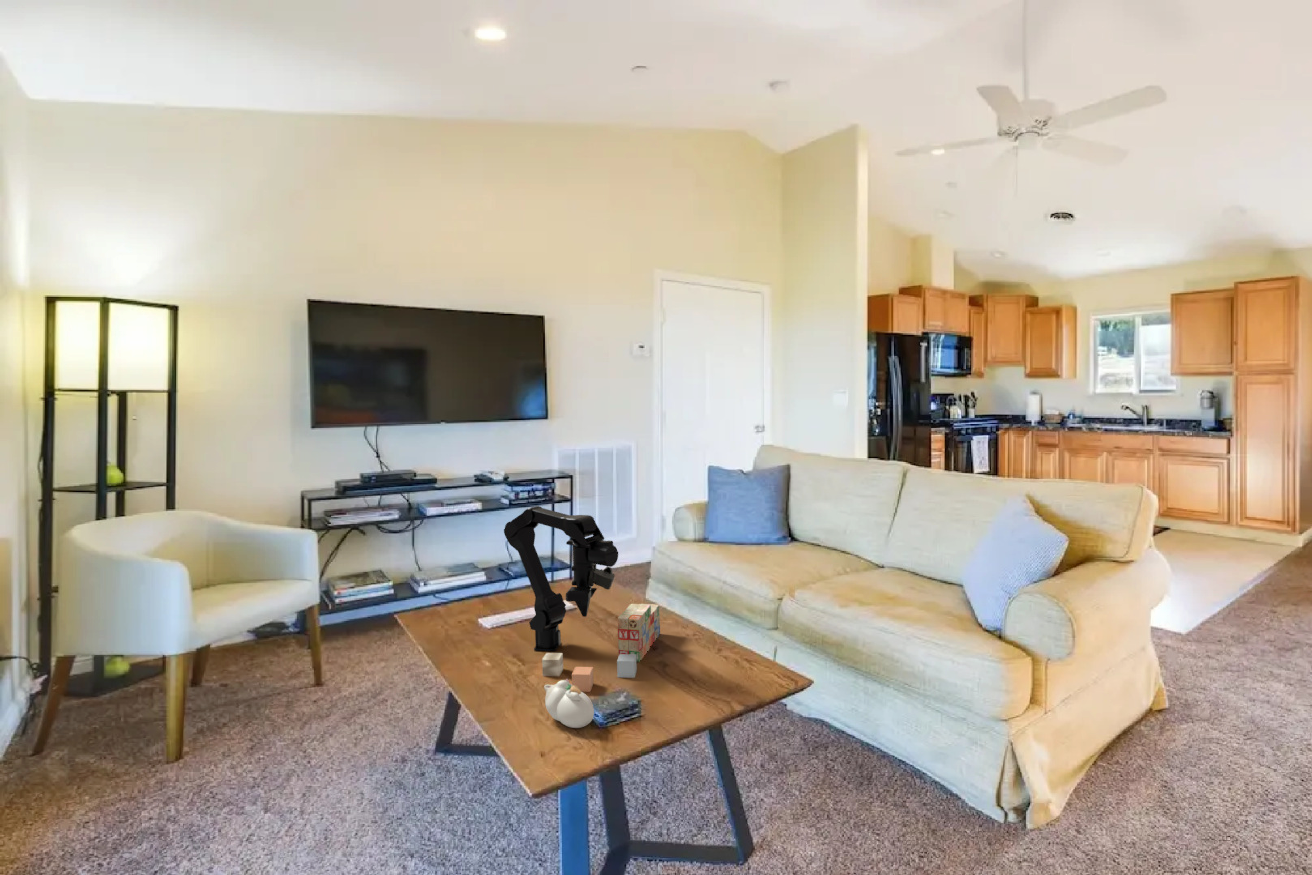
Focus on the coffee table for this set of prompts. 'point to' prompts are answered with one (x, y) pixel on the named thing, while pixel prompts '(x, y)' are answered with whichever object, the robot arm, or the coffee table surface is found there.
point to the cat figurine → (568, 704)
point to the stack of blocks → (638, 629)
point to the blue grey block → (626, 665)
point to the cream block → (552, 664)
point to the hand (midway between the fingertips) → (584, 616)
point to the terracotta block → (583, 678)
